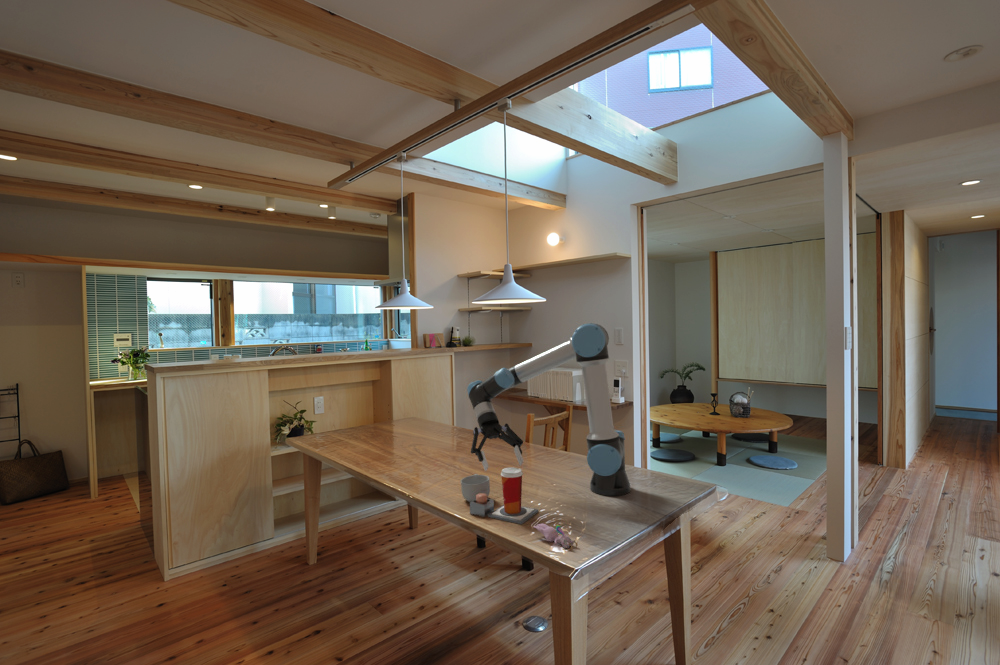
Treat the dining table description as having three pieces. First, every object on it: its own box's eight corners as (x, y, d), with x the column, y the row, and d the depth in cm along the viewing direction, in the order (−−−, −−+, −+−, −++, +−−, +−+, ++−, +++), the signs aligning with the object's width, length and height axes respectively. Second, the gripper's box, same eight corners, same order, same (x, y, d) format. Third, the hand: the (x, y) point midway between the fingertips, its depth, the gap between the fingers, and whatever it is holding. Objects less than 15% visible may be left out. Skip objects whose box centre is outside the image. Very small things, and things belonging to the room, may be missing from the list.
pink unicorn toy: (580, 550, 137) (540, 527, 147) (582, 531, 136) (542, 509, 146) (567, 558, 132) (527, 534, 143) (569, 538, 132) (529, 515, 142)
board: (538, 511, 163) (538, 508, 163) (521, 524, 153) (521, 520, 153) (506, 505, 170) (505, 502, 170) (487, 517, 159) (487, 513, 159)
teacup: (486, 506, 170) (486, 483, 170) (457, 504, 172) (457, 482, 172) (494, 492, 183) (493, 472, 183) (467, 491, 185) (466, 471, 185)
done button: (489, 502, 164) (489, 494, 164) (483, 506, 161) (483, 497, 161) (480, 501, 166) (480, 492, 166) (474, 504, 163) (473, 496, 163)
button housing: (494, 511, 165) (493, 499, 165) (484, 517, 159) (484, 505, 159) (479, 508, 168) (479, 496, 168) (470, 513, 163) (469, 502, 163)
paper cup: (510, 504, 167) (509, 465, 166) (528, 509, 162) (527, 469, 161) (496, 512, 160) (495, 471, 160) (514, 517, 156) (513, 475, 155)
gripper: (512, 419, 187) (532, 466, 174) (453, 426, 177) (468, 476, 163) (518, 407, 183) (538, 455, 169) (457, 414, 172) (474, 465, 159)
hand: (504, 465), depth 166 cm, fingers open, 13 cm apart
